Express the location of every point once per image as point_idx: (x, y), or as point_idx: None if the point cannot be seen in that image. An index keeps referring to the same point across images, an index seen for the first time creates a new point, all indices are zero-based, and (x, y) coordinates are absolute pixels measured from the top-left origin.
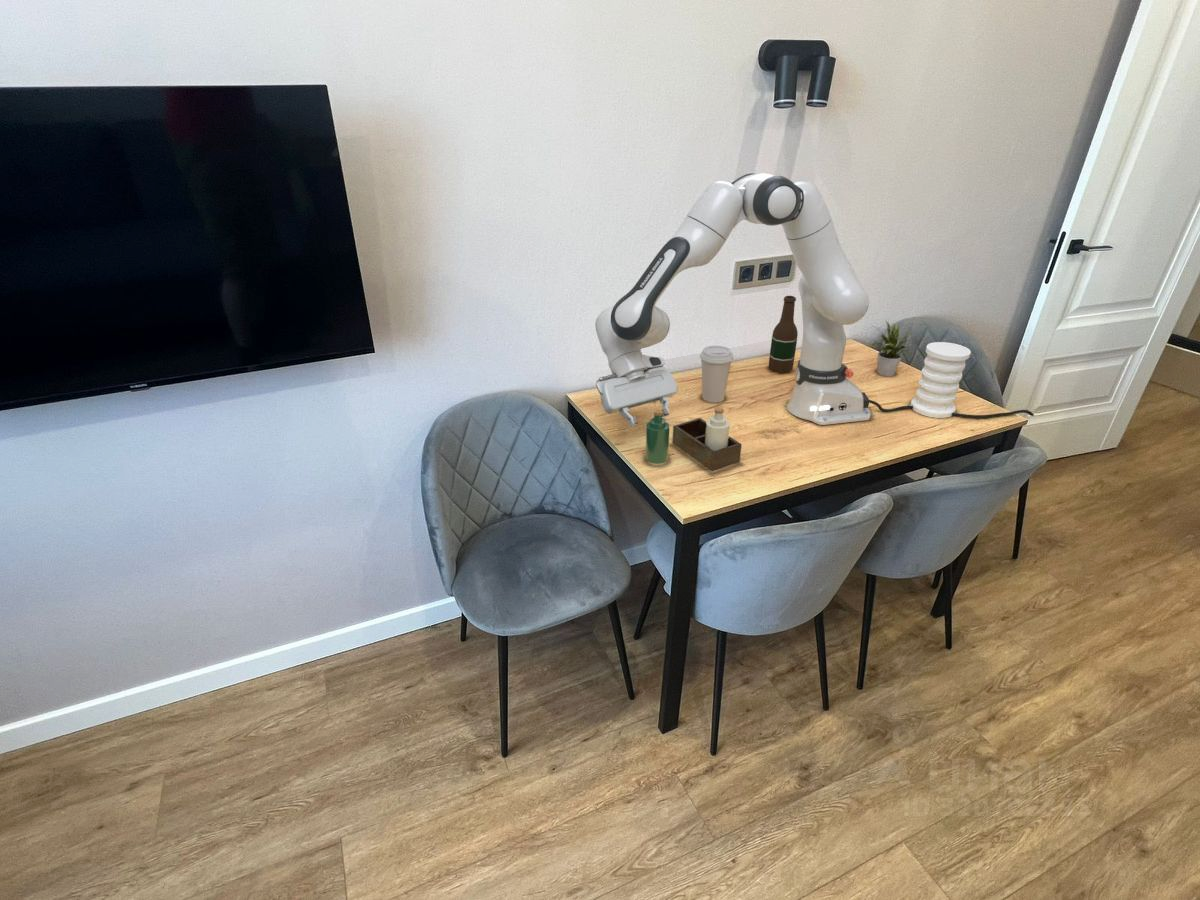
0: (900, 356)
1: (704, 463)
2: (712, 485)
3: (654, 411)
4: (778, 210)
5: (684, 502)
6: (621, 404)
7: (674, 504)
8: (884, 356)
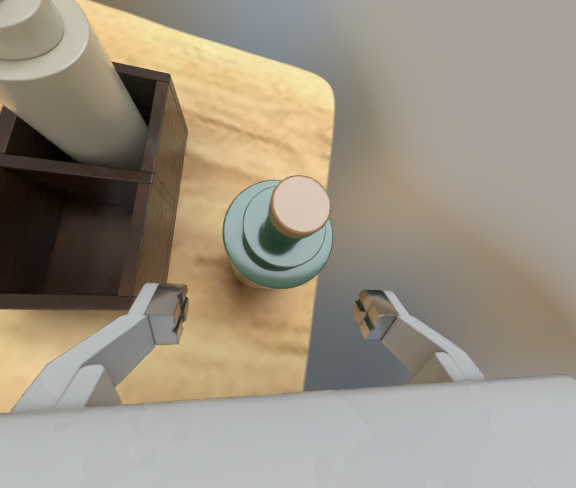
0: None
1: (180, 147)
2: (223, 101)
3: (328, 214)
4: None
5: (312, 102)
6: (536, 394)
7: (332, 109)
8: None
